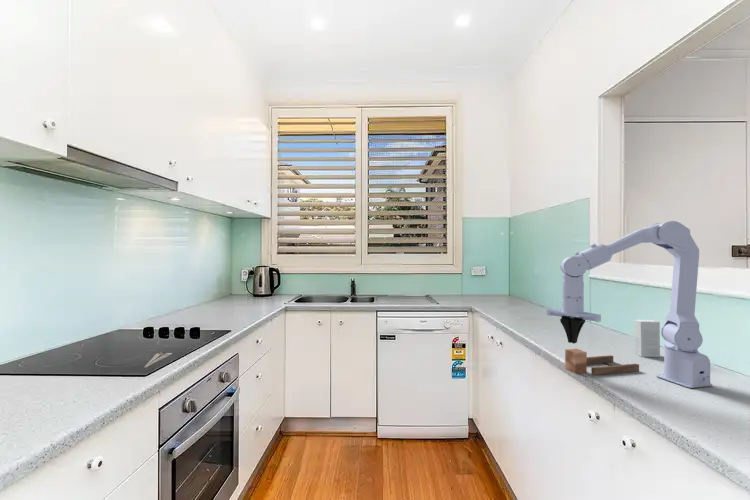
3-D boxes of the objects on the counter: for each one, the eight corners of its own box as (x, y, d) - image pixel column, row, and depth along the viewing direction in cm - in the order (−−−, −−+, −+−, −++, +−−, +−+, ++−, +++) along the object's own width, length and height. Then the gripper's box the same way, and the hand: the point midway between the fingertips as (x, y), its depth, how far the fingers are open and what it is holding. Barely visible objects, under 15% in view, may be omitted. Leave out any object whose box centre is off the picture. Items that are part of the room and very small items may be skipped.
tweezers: (158, 356, 129) (158, 350, 128) (173, 355, 129) (173, 350, 129) (130, 376, 111) (130, 370, 111) (147, 376, 112) (147, 369, 112)
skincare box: (652, 354, 131) (652, 319, 131) (660, 357, 127) (660, 321, 127) (633, 353, 132) (633, 319, 132) (641, 357, 127) (641, 321, 127)
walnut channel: (639, 371, 112) (639, 364, 112) (594, 375, 109) (594, 368, 109) (610, 361, 122) (610, 355, 122) (568, 364, 118) (568, 358, 118)
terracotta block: (586, 372, 112) (586, 352, 111) (575, 373, 111) (575, 352, 111) (576, 368, 115) (576, 348, 115) (565, 369, 114) (565, 349, 114)
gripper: (604, 298, 110) (604, 344, 110) (553, 293, 121) (553, 336, 121) (596, 300, 105) (595, 349, 105) (543, 295, 116) (543, 339, 116)
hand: (572, 342), depth 113 cm, fingers closed
